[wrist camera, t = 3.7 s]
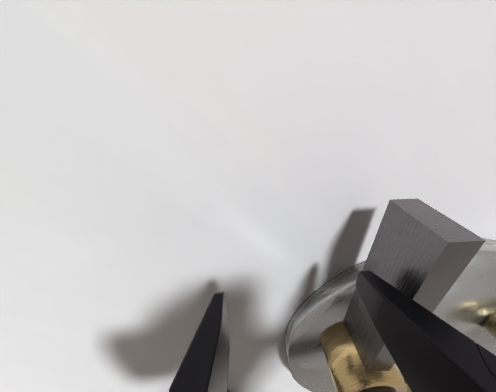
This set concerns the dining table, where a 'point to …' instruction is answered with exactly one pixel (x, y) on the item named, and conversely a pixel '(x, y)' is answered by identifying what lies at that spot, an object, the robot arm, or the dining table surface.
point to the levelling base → (338, 299)
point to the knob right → (491, 324)
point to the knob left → (405, 280)
